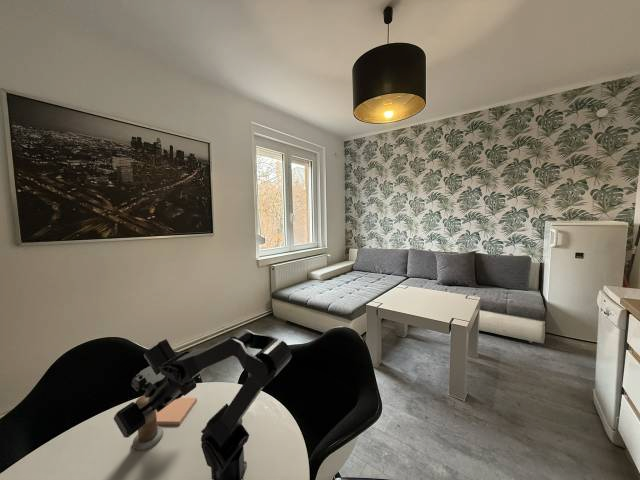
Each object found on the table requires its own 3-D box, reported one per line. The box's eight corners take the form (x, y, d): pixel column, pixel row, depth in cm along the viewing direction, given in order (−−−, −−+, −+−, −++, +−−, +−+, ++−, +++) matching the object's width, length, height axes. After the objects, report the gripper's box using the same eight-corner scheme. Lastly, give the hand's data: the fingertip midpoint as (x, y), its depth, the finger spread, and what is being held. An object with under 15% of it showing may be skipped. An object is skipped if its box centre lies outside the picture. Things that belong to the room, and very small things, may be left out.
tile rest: (197, 400, 85) (196, 397, 85) (179, 424, 75) (179, 421, 75) (168, 400, 85) (168, 397, 85) (147, 424, 75) (147, 421, 75)
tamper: (168, 428, 73) (165, 390, 72) (152, 450, 66) (148, 408, 65) (145, 428, 73) (142, 390, 72) (126, 450, 66) (122, 408, 65)
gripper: (185, 343, 75) (161, 370, 80) (115, 381, 57) (91, 413, 62) (206, 374, 72) (181, 400, 77) (140, 423, 55) (113, 452, 60)
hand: (145, 413), depth 69 cm, fingers open, 9 cm apart
